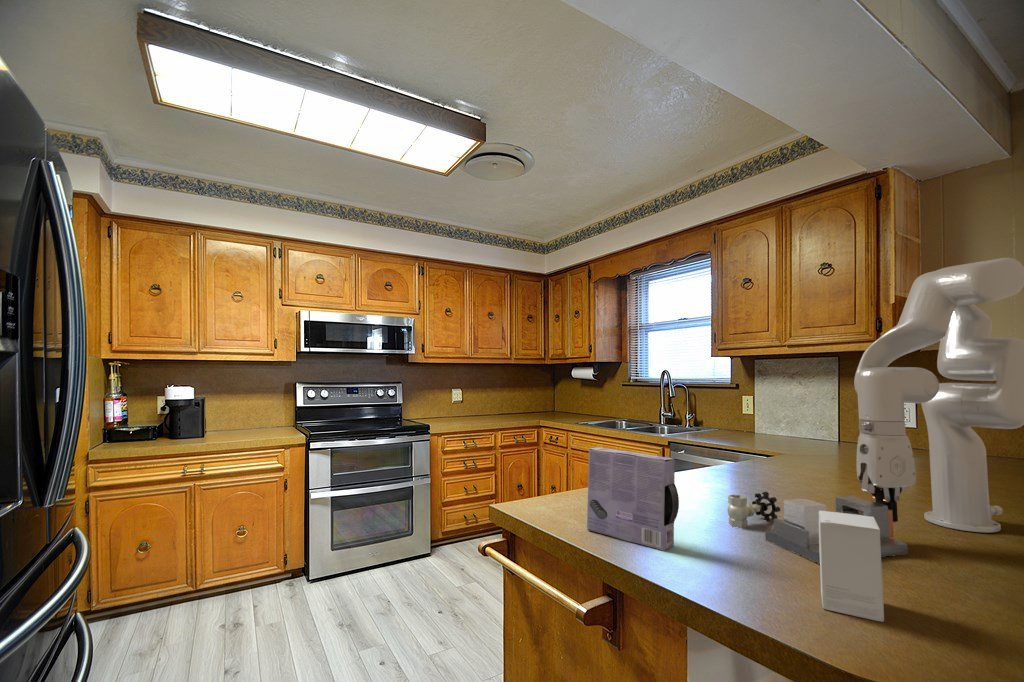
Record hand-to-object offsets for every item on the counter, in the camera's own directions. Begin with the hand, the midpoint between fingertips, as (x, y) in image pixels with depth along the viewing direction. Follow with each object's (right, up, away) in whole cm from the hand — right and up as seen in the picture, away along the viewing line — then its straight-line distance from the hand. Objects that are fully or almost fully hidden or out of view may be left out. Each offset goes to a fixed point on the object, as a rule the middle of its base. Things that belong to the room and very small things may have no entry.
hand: (887, 519), depth 98 cm
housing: (-19, -2, -4) cm, 20 cm away
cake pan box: (-51, -5, +2) cm, 52 cm away
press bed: (-13, -4, -3) cm, 14 cm away
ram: (-9, -2, -2) cm, 9 cm away
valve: (-22, -5, +12) cm, 25 cm away
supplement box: (-26, -3, -27) cm, 37 cm away
